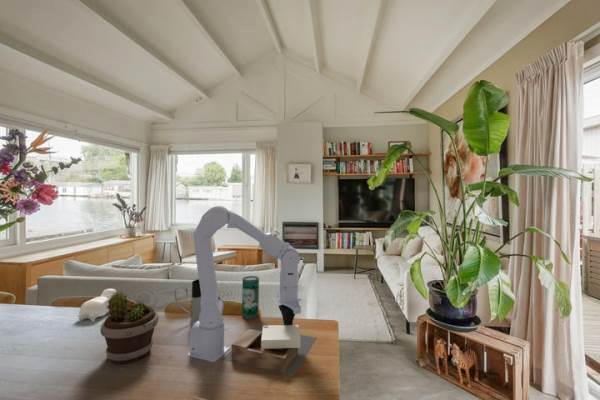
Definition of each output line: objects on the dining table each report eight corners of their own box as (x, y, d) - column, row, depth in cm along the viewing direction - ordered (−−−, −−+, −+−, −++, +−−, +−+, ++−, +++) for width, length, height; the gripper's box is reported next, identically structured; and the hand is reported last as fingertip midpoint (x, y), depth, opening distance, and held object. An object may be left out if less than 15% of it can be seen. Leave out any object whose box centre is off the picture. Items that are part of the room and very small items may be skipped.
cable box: (231, 360, 79) (231, 344, 79) (249, 343, 88) (249, 329, 88) (284, 373, 73) (285, 356, 73) (297, 354, 83) (298, 338, 83)
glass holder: (213, 324, 102) (213, 284, 102) (171, 328, 99) (172, 286, 99) (214, 315, 110) (215, 277, 110) (176, 318, 107) (177, 279, 107)
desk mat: (221, 360, 79) (221, 359, 79) (258, 327, 100) (258, 326, 100) (292, 378, 72) (292, 376, 72) (316, 338, 93) (316, 337, 93)
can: (240, 318, 108) (240, 279, 108) (245, 312, 114) (246, 275, 114) (255, 319, 107) (255, 280, 107) (259, 313, 113) (260, 276, 113)
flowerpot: (160, 338, 92) (161, 277, 92) (154, 363, 78) (155, 292, 78) (108, 345, 87) (109, 281, 87) (92, 374, 72) (93, 298, 72)
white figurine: (100, 328, 104) (125, 300, 118) (93, 311, 101) (121, 284, 115) (78, 327, 105) (106, 299, 119) (71, 310, 102) (101, 283, 116)
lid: (261, 348, 77) (261, 339, 77) (262, 333, 86) (263, 325, 86) (300, 347, 78) (300, 338, 78) (298, 332, 87) (298, 324, 87)
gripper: (310, 290, 83) (309, 336, 83) (291, 277, 96) (290, 317, 96) (288, 293, 80) (287, 340, 80) (272, 279, 93) (271, 320, 93)
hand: (288, 328), depth 88 cm, fingers closed, pressing on lid
